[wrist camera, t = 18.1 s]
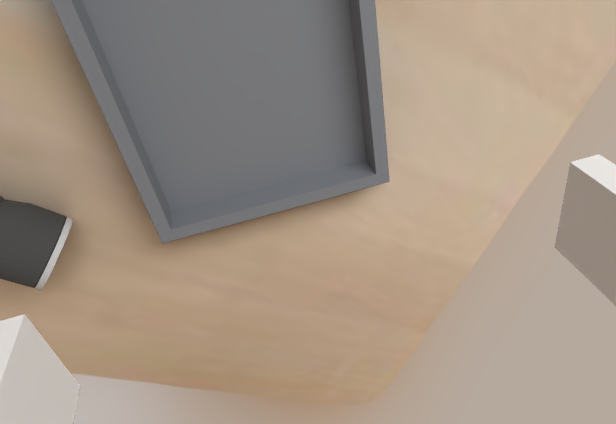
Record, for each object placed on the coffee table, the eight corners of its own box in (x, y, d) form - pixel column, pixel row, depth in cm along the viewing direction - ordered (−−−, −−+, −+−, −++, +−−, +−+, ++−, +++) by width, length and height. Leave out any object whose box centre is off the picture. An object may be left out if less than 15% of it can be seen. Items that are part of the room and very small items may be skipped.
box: (-23, -201, 23) (-46, -210, 21) (335, -268, 25) (352, -285, 22) (163, 220, 38) (162, 243, 36) (376, 163, 40) (389, 181, 37)
